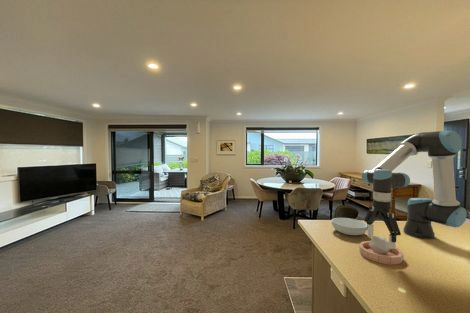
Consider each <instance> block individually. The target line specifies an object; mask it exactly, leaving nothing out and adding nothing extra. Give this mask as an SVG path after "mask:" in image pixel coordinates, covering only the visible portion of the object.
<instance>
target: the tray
mask: <svg viewBox="0 0 470 313" xmlns="http://www.w3.org/2000/svg"><path fill="white" fill-rule="evenodd" d="M370 241H371V240H367V241H366V240H364V241H363V240H362V241H361V242H360V243H358V250H359V254H360V255H362V256H363V257H364V258H366V259H368V260H370V261H373V262H375V263H378V264H382V265H383V264H384V265H389V266H390V265H391V266H396V265H401V264H403V260H404V259H405V258H404V257H405V256H404V253H403V251H402V250H401V249H399V248H397V247H396V246H395V248H394V249H390V250H389V252H388V254H387V255H380V254H377V253H375V252H374V251H373V250H372V249H371V248H370V246H369V243H370Z"/></svg>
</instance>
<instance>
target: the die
mask: <svg viewBox="0 0 470 313" xmlns="http://www.w3.org/2000/svg"><path fill="white" fill-rule="evenodd" d="M369 241H370V243H369V246H370V248H371V249H372V250H373V251H374V252H375V253H377V254H380V255H387V254H388V252H389V250H390V248H389V240H387V239H386V238H385V237H384V236H377V235H373V237H371V239H370V240H369Z"/></svg>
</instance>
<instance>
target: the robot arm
mask: <svg viewBox="0 0 470 313" xmlns="http://www.w3.org/2000/svg"><path fill="white" fill-rule="evenodd" d="M462 140H463V139H462V138H461V136H460V134H459V133H457V132H456V131H454V130H439V131H437V130H436V131H424V132H418V133H416V134H414V135H413V134H412V135H411V136H409V137H407V138H405V139H404V140H403V141H402V142H400V143H399V144H398V147H397V148H396V149H395V150H393V151H391V153H390V154H389V155H388V156H386V157H385V158H384V159H382V161H380V162H379V163H378V164H376V165H375V166H374V167H373V168H372V169H366V170H364V171H362V173H361V179H362V181H363V182H364V183H365V184H370V185H373V187H372V188H373V190H372V199H373V200H372V206H369V207H368V211H367V213H366V215H365V217H364V219H363V222H365V223H367V238H372V237H373V236H374V223H375V221H376V220H377V219H379V220H382V222H384V224H385V225H386V228H387V230H388V231H389V234H388V242H389V248H390V249H394V248H395V247H396V243H397V236H402V233H401V230H400V227H399V225H398V221H397V219H396V218H397V217H396V213H391V212H390V210H391V208H392V201H391V200H392V189H395V188H396V189H398V188H400V189H402V188H406V187H408V186H409V185H410V183H411V178H410V176H409V175H408V174H406V173H404V172H393V171H394V170H395V169H396V168H397V167H399V166H400V165H401V164H403V162H405V161H406V160H407V159H408V158H409V157H411V156H414V155H416V154H418V153H427V156H428V157H429V158H430V159H431V163H432V164H431V165H432V175H433V176H432V178H433V189H434V191H433V192H434V199H432V198H427V197H410V198H409V199H408V200H407V215H406V216H407V217H406V218H407V219H406V222H405V225H404V226H403V233H404V234H406V235H408V236H412V237H414V238H420V239H425V240H426V239H427V240H432V239H435V238H436V236H435V232H434V228H433V226H432V223H436V224H441V225H442V226H443V225H444V226H446V227H451V228H459V227H461V226H462V225H463V224H464V223H465V221H466V220H467V215H468V213H467V209H466V208H464V207H462V206H461V202H460V201H459V200H457V196H456V195H457V194H456V183H455V167H454V165H455V164H454V157H456V156H457V154H458V152H461V149H462V147H463V141H462Z"/></svg>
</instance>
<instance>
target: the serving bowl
mask: <svg viewBox="0 0 470 313" xmlns="http://www.w3.org/2000/svg"><path fill="white" fill-rule="evenodd" d="M331 225H332V228H333V229H334V230H336V232H338V233H341V234H344V235H347V236H361V235H363V234H365V233H366V232H368V230H367V222H365V221H364V220H359V219H355V218H349V217H335V218H332V219H331Z"/></svg>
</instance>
